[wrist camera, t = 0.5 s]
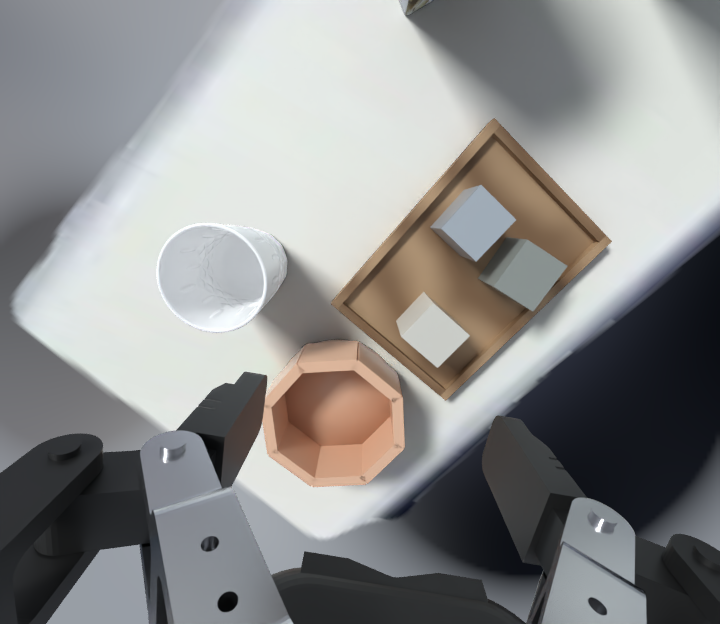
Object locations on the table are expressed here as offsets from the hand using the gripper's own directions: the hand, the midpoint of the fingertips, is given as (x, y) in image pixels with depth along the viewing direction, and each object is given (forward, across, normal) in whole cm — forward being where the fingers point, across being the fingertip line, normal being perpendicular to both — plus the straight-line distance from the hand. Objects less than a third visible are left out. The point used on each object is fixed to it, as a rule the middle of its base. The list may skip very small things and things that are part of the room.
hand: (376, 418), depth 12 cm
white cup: (+24, +12, 0) cm, 27 cm away
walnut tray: (+24, -9, -3) cm, 26 cm away
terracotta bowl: (+24, +1, +13) cm, 27 cm away
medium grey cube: (+23, -13, -4) cm, 27 cm away
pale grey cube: (+23, -6, +2) cm, 24 cm away
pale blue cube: (+23, -7, -7) cm, 26 cm away
